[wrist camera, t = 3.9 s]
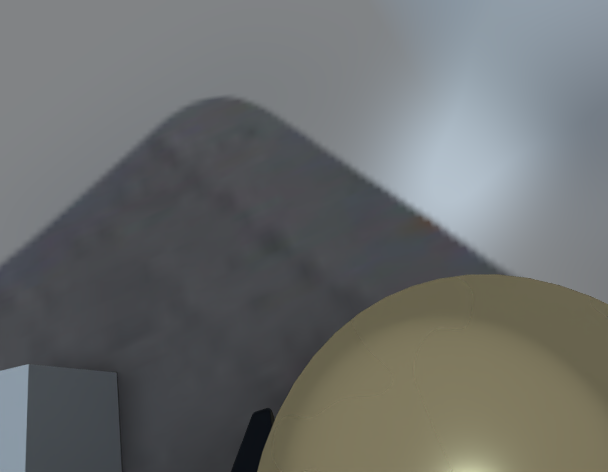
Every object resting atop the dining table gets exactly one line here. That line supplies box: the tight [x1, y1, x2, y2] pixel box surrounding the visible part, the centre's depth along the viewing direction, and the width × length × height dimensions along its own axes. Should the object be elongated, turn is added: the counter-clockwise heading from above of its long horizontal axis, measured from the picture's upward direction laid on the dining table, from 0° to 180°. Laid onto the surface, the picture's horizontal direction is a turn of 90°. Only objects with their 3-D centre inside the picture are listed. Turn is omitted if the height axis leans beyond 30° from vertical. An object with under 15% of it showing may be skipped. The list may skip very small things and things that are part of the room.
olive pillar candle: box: [257, 275, 608, 472], centre depth 9 cm, size 5×5×12 cm
